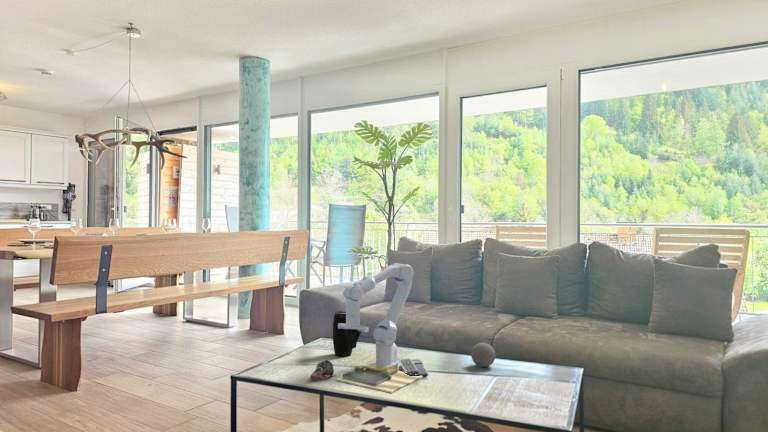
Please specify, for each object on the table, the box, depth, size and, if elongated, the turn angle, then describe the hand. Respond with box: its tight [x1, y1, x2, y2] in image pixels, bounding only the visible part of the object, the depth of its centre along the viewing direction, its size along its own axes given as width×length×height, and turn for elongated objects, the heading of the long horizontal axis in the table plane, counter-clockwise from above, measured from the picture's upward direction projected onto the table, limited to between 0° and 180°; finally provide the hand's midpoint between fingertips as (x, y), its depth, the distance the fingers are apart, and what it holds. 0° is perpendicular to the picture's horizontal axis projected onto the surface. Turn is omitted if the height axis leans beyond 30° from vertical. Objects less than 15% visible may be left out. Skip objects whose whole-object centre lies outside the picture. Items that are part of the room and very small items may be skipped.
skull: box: [309, 359, 335, 382], centre depth 204 cm, size 12×8×6 cm, turn 144°
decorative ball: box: [470, 342, 496, 368], centre depth 219 cm, size 10×10×10 cm
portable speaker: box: [332, 310, 353, 358], centre depth 239 cm, size 9×9×20 cm
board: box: [335, 366, 424, 394], centre depth 203 cm, size 22×26×1 cm
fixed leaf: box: [341, 366, 392, 386], centre depth 201 cm, size 10×17×2 cm, turn 56°
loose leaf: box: [364, 364, 399, 375], centre depth 209 cm, size 8×12×3 cm
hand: (353, 347), depth 214 cm, fingers closed
